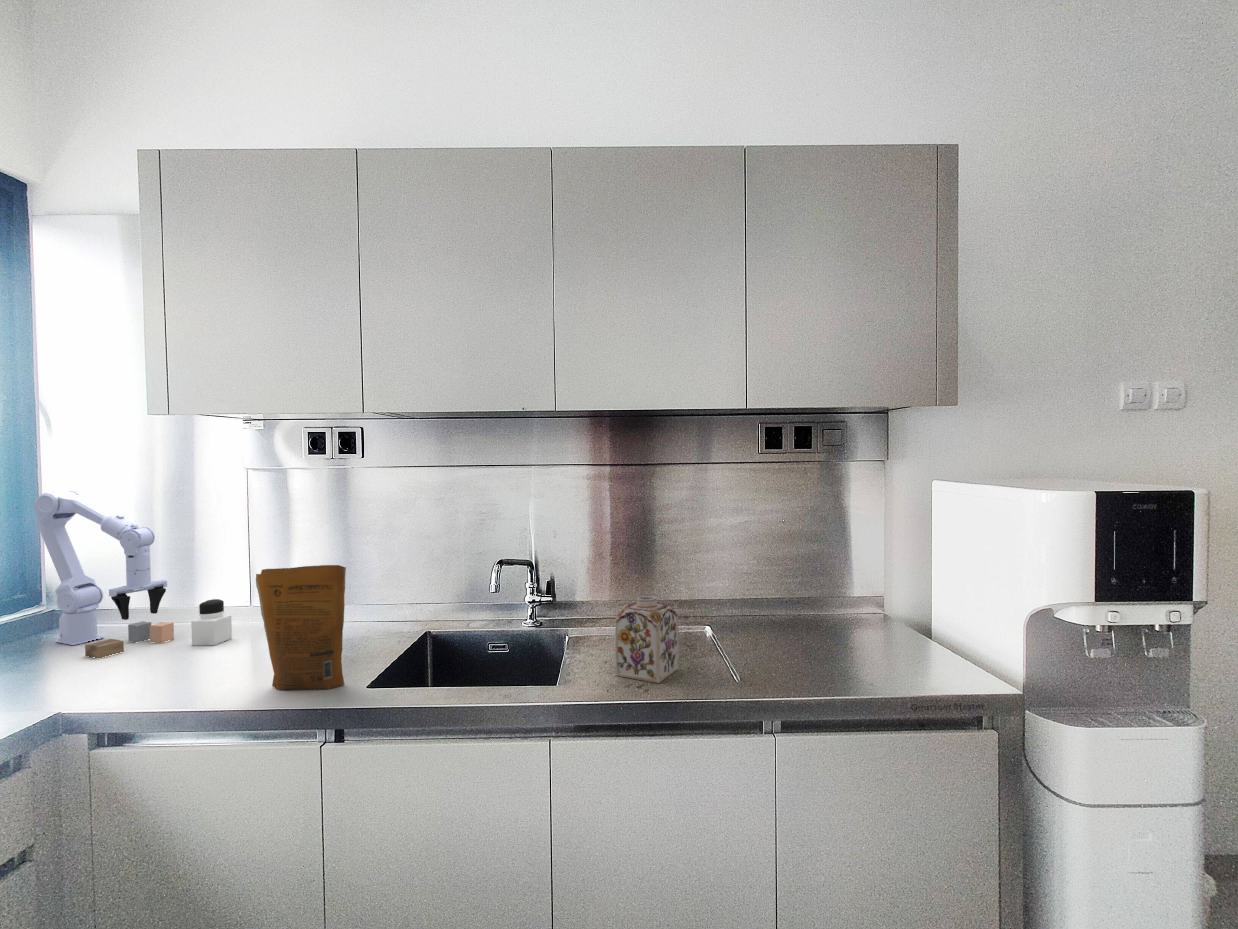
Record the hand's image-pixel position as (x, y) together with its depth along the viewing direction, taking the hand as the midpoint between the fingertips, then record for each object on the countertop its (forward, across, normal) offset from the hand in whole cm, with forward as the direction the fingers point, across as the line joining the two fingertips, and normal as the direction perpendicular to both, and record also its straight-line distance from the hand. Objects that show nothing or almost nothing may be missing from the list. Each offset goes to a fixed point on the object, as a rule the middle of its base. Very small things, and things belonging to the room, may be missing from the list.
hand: (139, 616), depth 188 cm
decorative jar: (+8, +30, -148) cm, 151 cm away
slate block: (+7, 0, 0) cm, 7 cm away
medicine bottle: (+7, +7, -22) cm, 24 cm away
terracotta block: (+7, +2, -7) cm, 10 cm away
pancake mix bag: (+8, -9, -80) cm, 81 cm away
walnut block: (+7, -12, -6) cm, 15 cm away
